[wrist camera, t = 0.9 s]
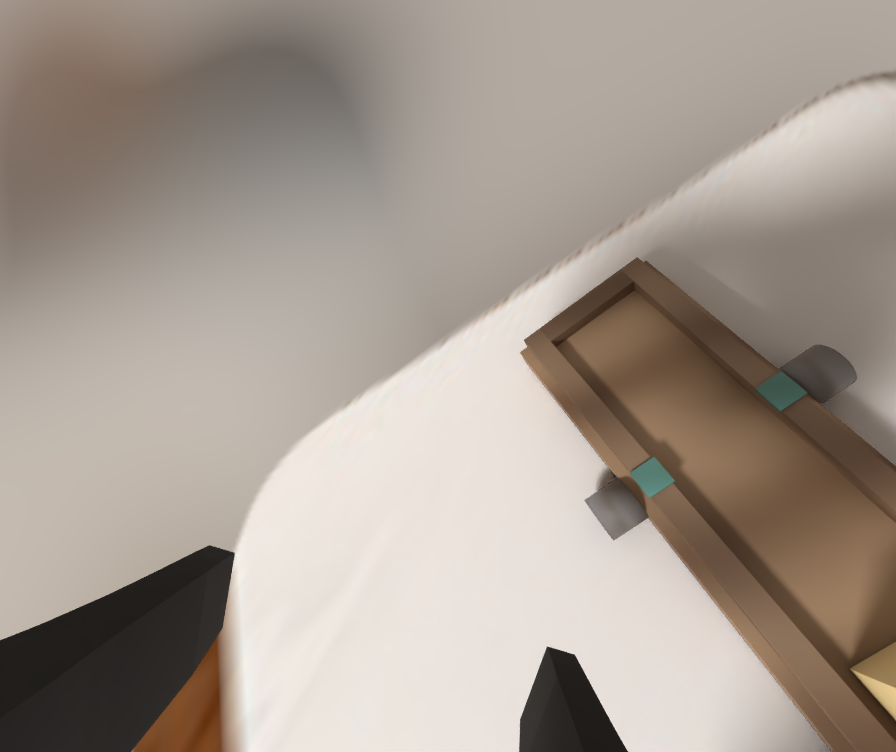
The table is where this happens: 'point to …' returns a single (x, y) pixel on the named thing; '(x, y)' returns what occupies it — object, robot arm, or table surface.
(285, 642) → the table surface
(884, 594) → the balance beam
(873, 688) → the block
